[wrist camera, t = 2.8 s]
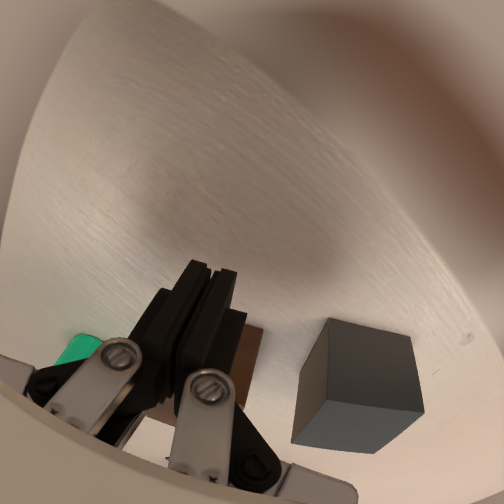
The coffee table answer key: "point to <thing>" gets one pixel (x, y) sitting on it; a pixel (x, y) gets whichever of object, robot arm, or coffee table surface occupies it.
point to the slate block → (356, 390)
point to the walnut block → (238, 375)
